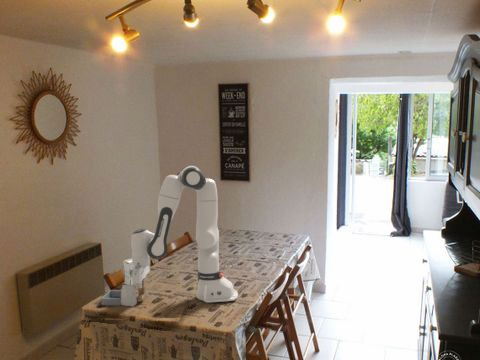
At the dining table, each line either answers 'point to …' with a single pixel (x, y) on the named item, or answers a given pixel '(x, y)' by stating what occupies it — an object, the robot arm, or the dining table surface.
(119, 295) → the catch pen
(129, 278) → the syrup box
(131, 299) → the white rectangular block
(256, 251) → the dining table surface
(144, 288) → the scraper
